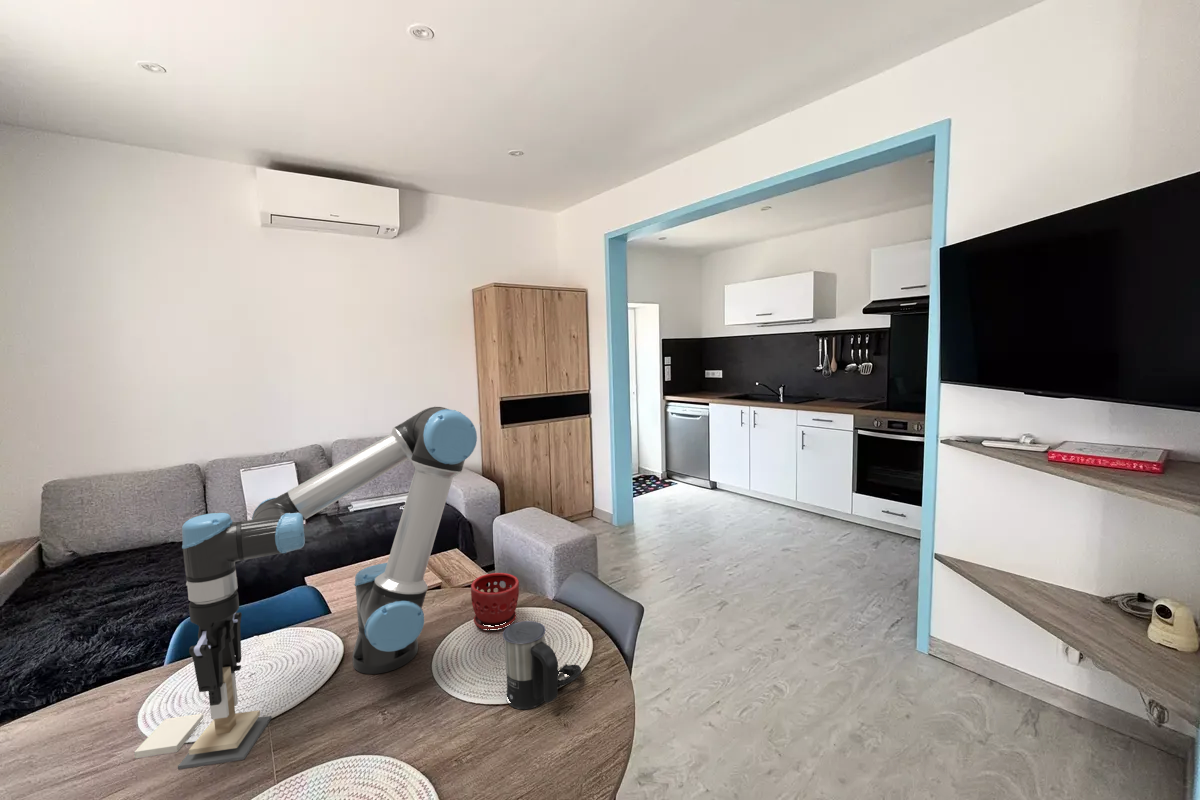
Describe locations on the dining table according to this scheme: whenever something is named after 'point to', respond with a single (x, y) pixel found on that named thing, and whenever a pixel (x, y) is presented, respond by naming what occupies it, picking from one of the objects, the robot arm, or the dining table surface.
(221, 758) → the rest mat
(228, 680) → the block tower on stand
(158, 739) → the tile
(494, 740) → the dining table surface
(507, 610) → the plant pot
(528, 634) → the milk frother
